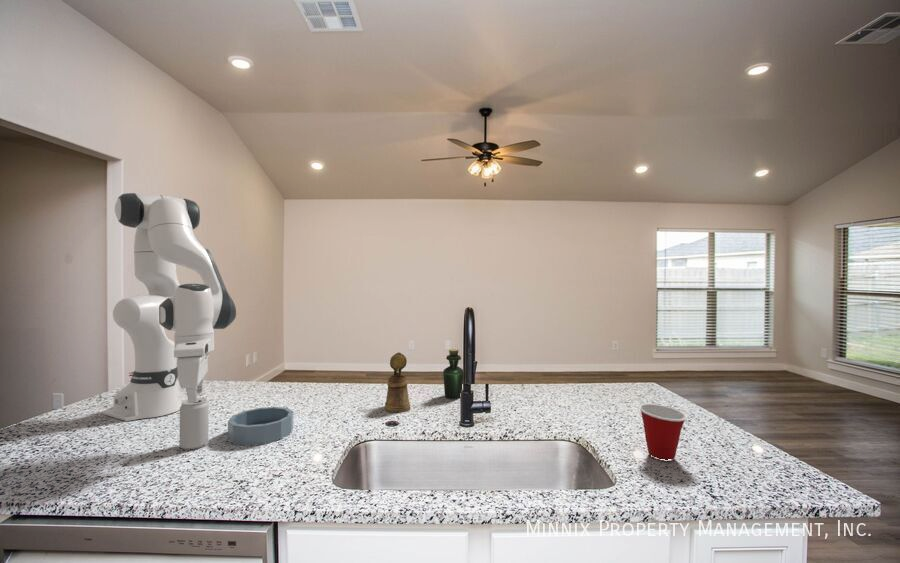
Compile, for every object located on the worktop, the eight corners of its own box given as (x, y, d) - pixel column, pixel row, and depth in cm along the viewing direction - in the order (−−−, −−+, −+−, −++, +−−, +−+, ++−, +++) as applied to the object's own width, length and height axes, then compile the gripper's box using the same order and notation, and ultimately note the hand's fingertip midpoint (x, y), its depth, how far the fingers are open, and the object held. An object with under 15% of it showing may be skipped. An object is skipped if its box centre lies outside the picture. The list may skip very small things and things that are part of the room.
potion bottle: (447, 392, 155) (448, 347, 155) (466, 395, 152) (467, 349, 152) (439, 398, 148) (439, 350, 148) (459, 400, 144) (459, 352, 145)
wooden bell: (410, 400, 145) (411, 352, 145) (410, 412, 131) (410, 359, 131) (386, 400, 144) (386, 352, 144) (383, 413, 130) (384, 359, 130)
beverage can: (194, 452, 99) (194, 405, 99) (173, 449, 100) (173, 403, 100) (213, 442, 105) (214, 398, 105) (193, 440, 107) (194, 396, 107)
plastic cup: (686, 471, 91) (687, 420, 91) (636, 459, 97) (636, 411, 97) (687, 454, 100) (687, 407, 101) (641, 444, 106) (641, 400, 106)
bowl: (214, 441, 106) (214, 423, 106) (258, 420, 122) (258, 404, 122) (265, 448, 102) (265, 429, 102) (304, 426, 117) (304, 409, 117)
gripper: (187, 341, 111) (188, 389, 111) (172, 351, 92) (172, 410, 92) (213, 339, 113) (214, 386, 113) (203, 349, 95) (203, 406, 95)
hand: (195, 397), depth 103 cm, fingers open, 8 cm apart
